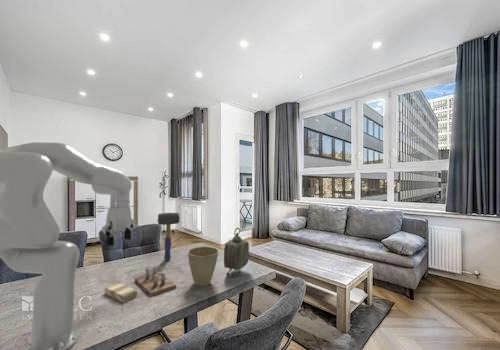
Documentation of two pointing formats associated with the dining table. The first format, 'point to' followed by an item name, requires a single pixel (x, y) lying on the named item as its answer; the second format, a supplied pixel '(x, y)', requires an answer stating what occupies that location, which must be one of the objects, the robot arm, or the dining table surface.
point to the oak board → (120, 292)
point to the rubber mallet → (168, 229)
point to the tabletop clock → (236, 253)
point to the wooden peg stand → (154, 282)
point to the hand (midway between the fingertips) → (119, 242)
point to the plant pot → (202, 264)
